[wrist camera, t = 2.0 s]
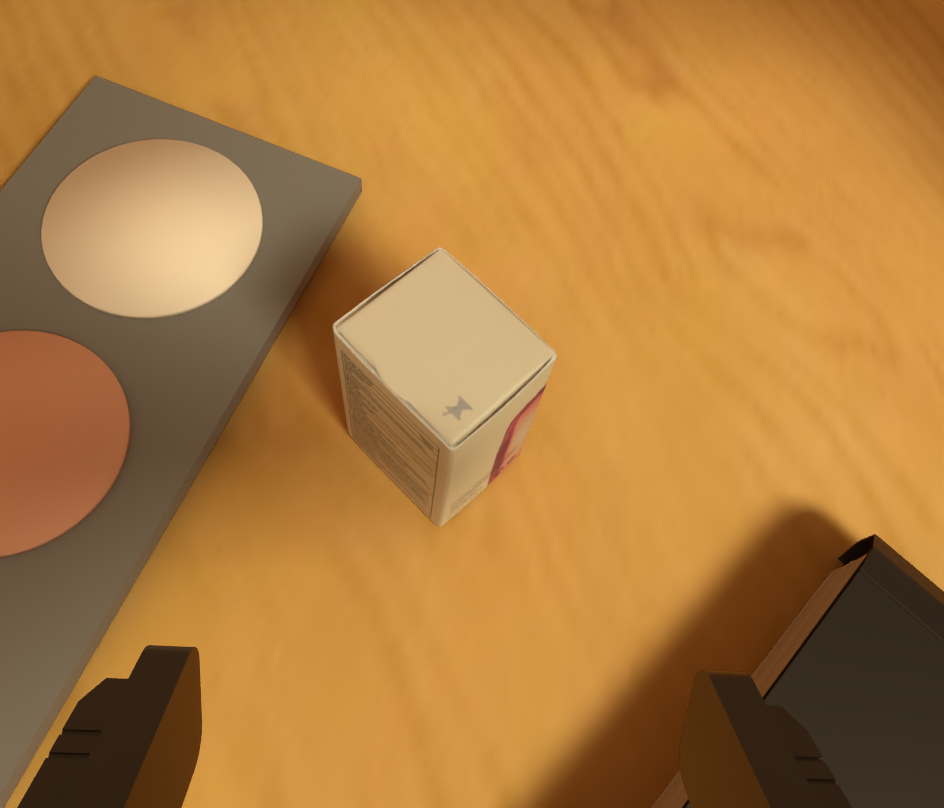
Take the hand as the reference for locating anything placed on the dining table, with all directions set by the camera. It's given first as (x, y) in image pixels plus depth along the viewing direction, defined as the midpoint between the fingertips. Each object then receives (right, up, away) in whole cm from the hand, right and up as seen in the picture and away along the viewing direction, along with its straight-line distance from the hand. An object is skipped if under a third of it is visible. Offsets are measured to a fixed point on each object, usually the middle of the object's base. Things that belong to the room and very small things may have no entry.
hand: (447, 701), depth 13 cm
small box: (-1, +3, +17) cm, 17 cm away
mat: (-15, +3, +15) cm, 22 cm away
